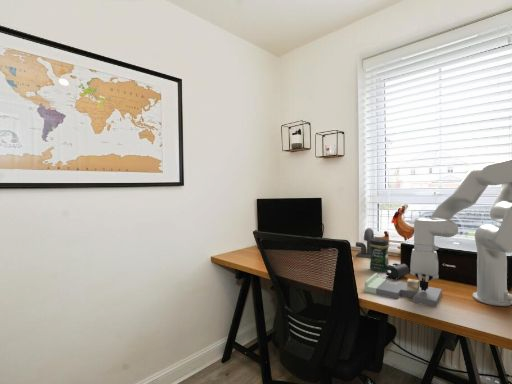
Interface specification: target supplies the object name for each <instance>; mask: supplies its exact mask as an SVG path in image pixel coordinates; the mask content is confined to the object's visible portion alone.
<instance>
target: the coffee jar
mask: <svg viewBox="0 0 512 384" xmlns="http://www.w3.org/2000/svg"><path fill="white" fill-rule="evenodd" d="M370 247H371V259H370V261H369V269H370V271H374V272H376V273H386V272H389V271H390V270H386V266H387V265H390V263H389V254H388V253H389V247H390V242H389V239H388V238H382V237H376V236H374V237H373V238H371V240H370Z"/></svg>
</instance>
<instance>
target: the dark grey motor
mask: <svg viewBox="0 0 512 384" xmlns="http://www.w3.org/2000/svg"><path fill="white" fill-rule="evenodd" d="M386 270H389V271H390V272H389V271H388V272H385V275H386V279H388V280H389V279H390V280H393V281H394V280H397V279H400V278H403V277H406V276H407V275H409V274H410V268H409V266H408V265H407V264H406V263H392V265H390V264H389V265H387V266H386Z"/></svg>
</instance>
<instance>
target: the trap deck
mask: <svg viewBox="0 0 512 384" xmlns="http://www.w3.org/2000/svg"><path fill="white" fill-rule="evenodd" d="M378 273H379V272H375V273H374V274H372V275H371V276H370V277H369V278H368V279H366V280H365V281H364V292H365V293H370V294H373V295H378V296H379V295H380V296H383V297H388V298H391V299H397V300H399V298H400V297H401V296H404V297H408V298H412V299H413V303H415V304H420V305H424V306H427V307H433V308H437V306H438V304H439V302H440V300H441V297H442V294H443V293H442V292H443V289H442V288H437V287H433V286H428V289H426V291H424V290H423V291H422V290H421V288H420V284H419V290H418V292H415V291H409V290H407V281H406V282H405V281H400V280H399V281H398V282H397V283H392V282H387V278H383V277H378V275H379V274H378Z"/></svg>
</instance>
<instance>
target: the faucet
mask: <svg viewBox="0 0 512 384" xmlns="http://www.w3.org/2000/svg"><path fill="white" fill-rule="evenodd" d="M373 237H375V234H374V230H373V229H372V228H370V227H368V228H366V229H365V230H364V234H363V240H364V242H365V241H366V244H365V243H364V242H359V241H356V242H355V247H356V248H360V251H358V253H356V255H355V258H363V259H370V260H371V247H370V240H371V238H373Z"/></svg>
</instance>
